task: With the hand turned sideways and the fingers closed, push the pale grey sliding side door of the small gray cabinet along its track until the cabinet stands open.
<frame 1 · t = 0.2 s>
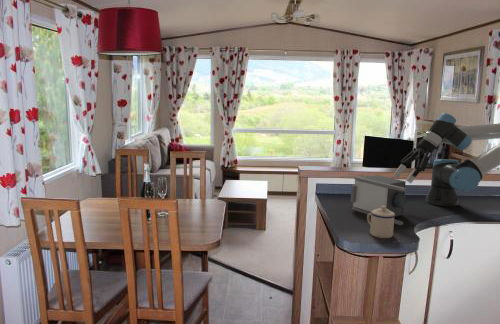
hand: (401, 178, 190), 15 cm above the countertop, tool tilted 35°, fingers open, 13 cm apart
small gray cabinet: (379, 212, 188), on the countertop
teacup with lid: (378, 234, 159), on the countertop
coffee box: (368, 201, 209), on the countertop
side door: (368, 197, 183), point 8 cm above the countertop, slide at 0.0 cm
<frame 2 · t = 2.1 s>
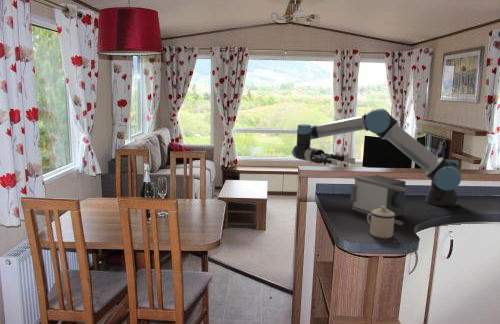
hand: (345, 162, 193), 22 cm above the countertop, tool horizontal, fingers open, 11 cm apart
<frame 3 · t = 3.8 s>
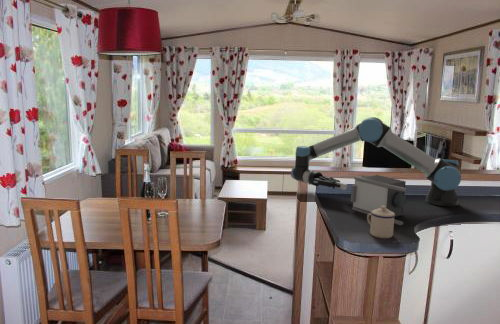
hand: (346, 187, 194), 10 cm above the countertop, tool horizontal, fingers closed
nothing on the countertop moved.
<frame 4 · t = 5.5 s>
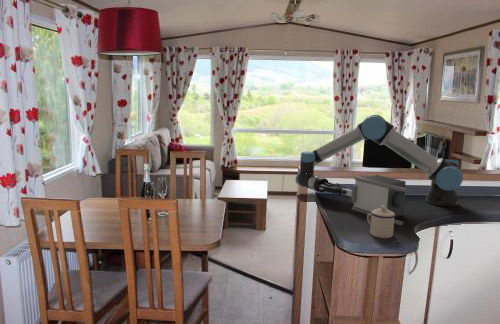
hand: (352, 193, 190), 8 cm above the countertop, tool horizontal, fingers closed
side door: (369, 197, 183), point 8 cm above the countertop, slide at 0.4 cm, touching gripper
everything else where it was.
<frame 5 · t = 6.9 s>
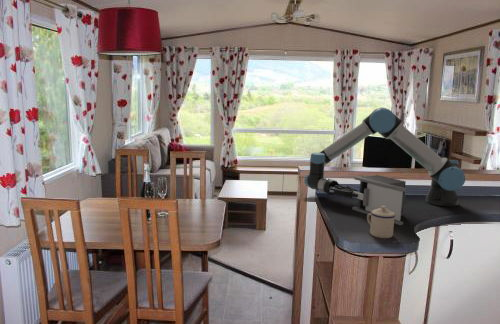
hand: (364, 197, 184), 8 cm above the countertop, tool horizontal, fingers closed
side door: (381, 201, 177), point 8 cm above the countertop, slide at 7.6 cm
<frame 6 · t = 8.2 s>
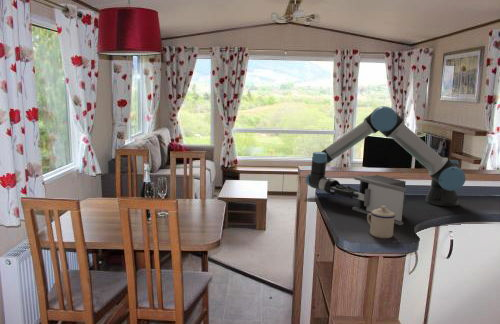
hand: (364, 197, 183), 8 cm above the countertop, tool horizontal, fingers closed
side door: (383, 201, 176), point 8 cm above the countertop, slide at 8.2 cm, touching gripper
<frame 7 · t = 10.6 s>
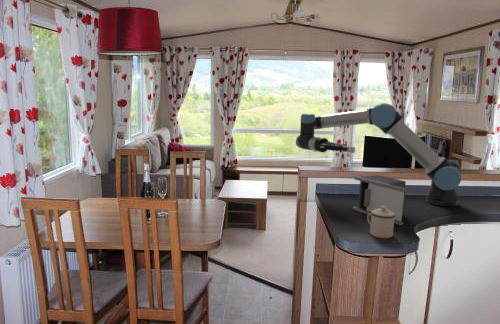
hand: (353, 150, 190), 28 cm above the countertop, tool horizontal, fingers closed
side door: (383, 201, 176), point 8 cm above the countertop, slide at 8.2 cm
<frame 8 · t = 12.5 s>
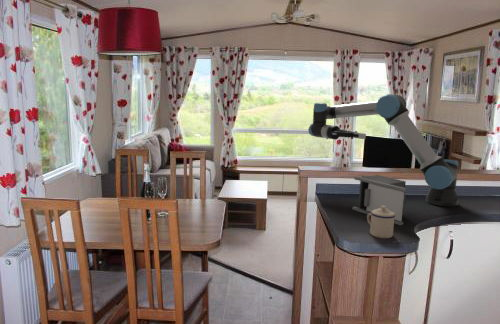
hand: (364, 136, 201), 34 cm above the countertop, tool horizontal, fingers closed
at the end: side door slide at 8.2 cm; teacup with lid moved 0.2 cm from its start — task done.
